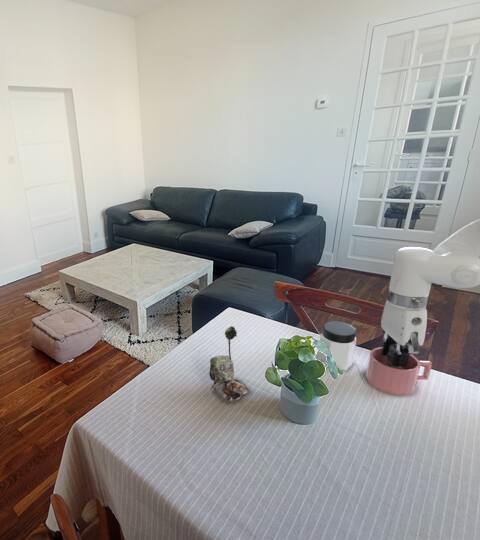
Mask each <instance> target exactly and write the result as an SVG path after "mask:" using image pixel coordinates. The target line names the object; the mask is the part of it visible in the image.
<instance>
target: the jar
mask: <svg viewBox="0 0 480 540" xmlns="http://www.w3.org/2000/svg"><path fill="white" fill-rule="evenodd" d="M356 334H357V330H356V328H355V327H354V326H352V325H350V324H348V323H346V322H342V321H336V320H335V321H327V322H325V323H324V324H323V325H322V332H321V333H320V335H319V342H320V341H321V342H324V343H325V344H326V345H327V346H328V347H329V348H330V350H331V352H332V356H333V359H334V360H335V362H336V363H337V365H338V367H339V368H340V369H341V370H340V371H347V370H348V369H349V368H350V367H352V365H353V364H354V358H355V352H356V351H355V350H356V344H357V337H356ZM319 360H320V361H322V362H324V363H325V361H326V356H325V355H324V354H323V353H321V352H319V350H318V352H317V361H319ZM320 361H319V362H320ZM324 366H325V368H327V364H326V363H325V365H324Z"/></svg>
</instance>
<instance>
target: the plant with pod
mask: <svg viewBox="0 0 480 540" xmlns="http://www.w3.org/2000/svg"><path fill="white" fill-rule="evenodd" d="M237 332H238V331H237V330H236V328H235V326H233V325H231V326H229V327H228V328H226V329H225V331H224V335H225V338H226V339H227V340H228V355H217V356H213V357H211V355H209V357H211V358H210V359H209V364H210V365H209V372H208V374H209V378H210V380H211V381H213V384H212V385H211V388H210V392H209V395H212V393H213V391H214V390H219V387H221V388H220V390H221V394H222V395H223V398H224V400H226V401H227V402H233V401H239V400H240V399H241V398H242V396H245V394H247V393H248V394H249V389H248V388H247V385H245V384H243V383H241V382H240V380H239V379H234V378H235V367H234V366H235V365H234V360H233V358H232V356H231V341H232V340H234V338H237V337H238V335H237V334H238V333H237ZM217 384H218V385H217ZM216 385H217V386H216ZM222 387H223V388H222Z"/></svg>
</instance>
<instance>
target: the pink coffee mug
mask: <svg viewBox="0 0 480 540" xmlns="http://www.w3.org/2000/svg"><path fill="white" fill-rule="evenodd" d="M382 349H383V346H382V347H375V348H373V349H371V350H370V352H369V355H368V361H367V366H366V372H365V379H366V380H367V382H368V383H369V384H370V385H371V386H372V387H374V388H376V389H377V390H379V391H382V392H384V393H387V394H390V395H396V396H407V395H410V394H412V393H414V392H415V390H416V385H417V381H427V380H429V377H430V373H431V370H432V366H433V363H432V362H431V361H429V360H419V359H418V358H417V357H416V356H414V355H413V354H411V355H409V359H408V363H407V366H401V367H402V368H404V369H405V370H401V369H395V368H391V367H388V366H386V365H383V364H381V363H386V360H387V357H386V356H383V355H382ZM421 367H424V368H423V373H422V374H419V373H420V368H421Z"/></svg>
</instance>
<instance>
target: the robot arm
mask: <svg viewBox="0 0 480 540" xmlns="http://www.w3.org/2000/svg"><path fill="white" fill-rule="evenodd" d="M432 284H436V285H441V286H445V287H450V288H456V289H470V288H475V287H477V286H479V285H480V218H478V219H476V220H474V221H472V222H470V223H469V224H467V225H465V226H463V227H461V228H460V229H459V230H457V231H456V232H454V233H453V234H451V235H450V236H448V237H447V238H446V239H445V240H443V241H442V242H440V243H439V244H438V245H437V246H436V247H434V249H433V250H432V249H429V248H424V247H416V246H415V247H414V246H408V247H402V248H400V249H398V250H396V252H395V255H394V259H393V264H392V270H391V274H390V280H389V286H388V291H387V296H386V301H385V304H384V306H383V310H382V313H381V318H380V328H381V330H382V333H383V337H382V340H383V344H382V347H383V349H382V355H383V356H386V354H388V352H389V347H390V345H392V344H396V343H397V350H396V352H394V355H393V360H392V365H393V366H407V363H408V359H409V355H413V354H420V349H419V346H420V347H421V346H423V345H424V342H425V339H426V331H427V325H428V309H427V304H428V300H429V296H430V292H431V289H432V288H431V287H432ZM404 346H405V347H404ZM402 347H403V349H402Z"/></svg>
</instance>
